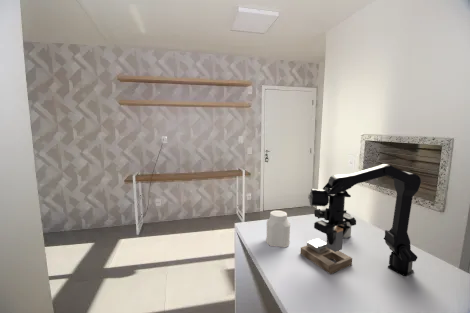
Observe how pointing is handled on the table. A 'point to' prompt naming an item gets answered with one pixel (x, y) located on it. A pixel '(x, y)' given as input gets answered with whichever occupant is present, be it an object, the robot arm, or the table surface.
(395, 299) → the table surface
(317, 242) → the panel
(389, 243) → the robot arm
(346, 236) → the can
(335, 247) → the plug
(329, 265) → the socket board
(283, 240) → the jar
